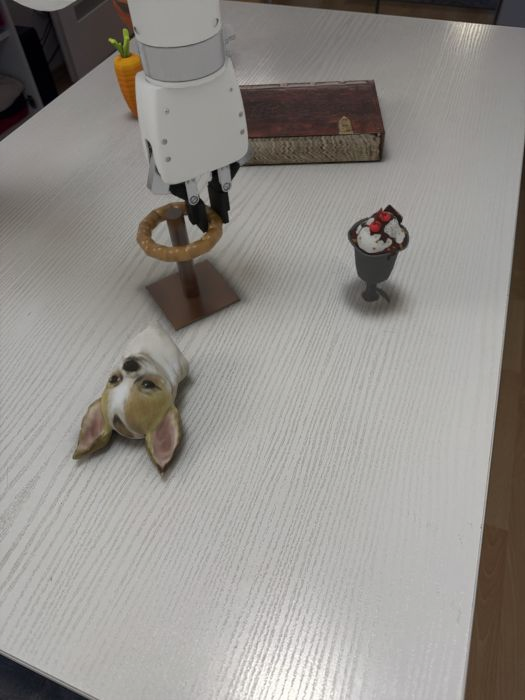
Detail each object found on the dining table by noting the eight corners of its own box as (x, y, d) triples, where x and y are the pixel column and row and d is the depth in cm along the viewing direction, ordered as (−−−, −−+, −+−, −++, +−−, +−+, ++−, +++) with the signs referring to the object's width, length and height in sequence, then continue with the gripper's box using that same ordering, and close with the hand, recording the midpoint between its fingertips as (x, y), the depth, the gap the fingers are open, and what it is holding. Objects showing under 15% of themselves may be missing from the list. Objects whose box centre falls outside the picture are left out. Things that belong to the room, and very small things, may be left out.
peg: (176, 336, 65) (153, 251, 55) (146, 292, 70) (120, 207, 60) (241, 305, 68) (230, 218, 58) (207, 265, 73) (192, 180, 63)
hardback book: (371, 104, 98) (374, 76, 94) (381, 162, 86) (385, 132, 82) (212, 111, 100) (209, 83, 96) (201, 168, 88) (196, 139, 84)
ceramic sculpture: (202, 315, 55) (153, 449, 46) (215, 364, 62) (175, 488, 53) (105, 304, 57) (42, 430, 48) (128, 352, 64) (77, 470, 55)
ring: (160, 276, 57) (157, 265, 56) (126, 230, 63) (122, 219, 62) (238, 241, 60) (237, 230, 59) (199, 200, 66) (197, 188, 64)
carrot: (134, 130, 97) (112, 40, 86) (123, 119, 100) (100, 31, 89) (159, 121, 99) (140, 32, 87) (147, 111, 102) (127, 23, 90)
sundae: (355, 326, 64) (366, 224, 53) (334, 289, 69) (341, 186, 57) (406, 313, 65) (428, 209, 54) (383, 277, 70) (398, 173, 58)
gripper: (238, 17, 53) (252, 183, 67) (83, 64, 48) (134, 231, 62) (280, 41, 48) (286, 213, 63) (114, 95, 44) (161, 267, 58)
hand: (210, 220), depth 62 cm, fingers closed on ring, 2 cm apart
